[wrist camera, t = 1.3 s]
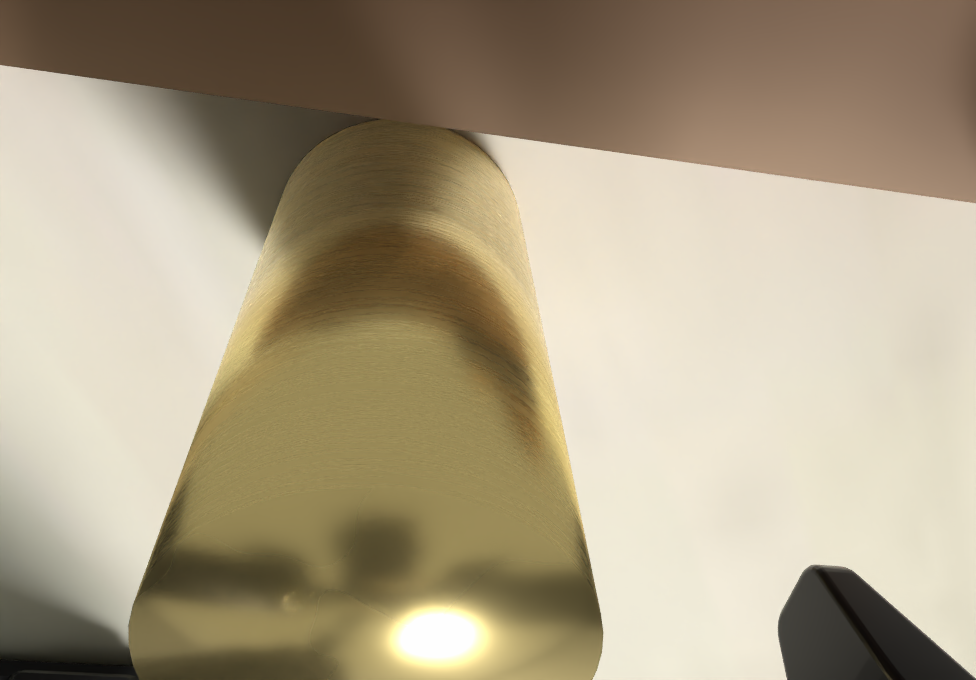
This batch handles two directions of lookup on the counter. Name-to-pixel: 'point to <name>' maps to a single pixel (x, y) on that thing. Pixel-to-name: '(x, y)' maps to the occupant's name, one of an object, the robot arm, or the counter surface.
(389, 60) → the jig
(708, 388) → the counter surface
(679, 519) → the counter surface
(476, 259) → the brass cylinder rod
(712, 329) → the counter surface
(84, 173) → the counter surface
